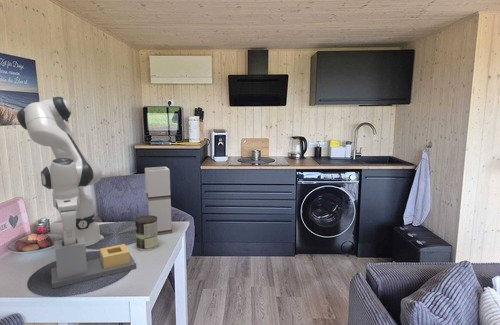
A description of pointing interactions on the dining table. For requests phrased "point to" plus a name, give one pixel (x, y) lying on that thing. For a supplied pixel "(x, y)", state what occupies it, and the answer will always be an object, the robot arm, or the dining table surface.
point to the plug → (69, 240)
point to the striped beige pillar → (159, 197)
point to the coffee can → (146, 232)
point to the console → (87, 262)
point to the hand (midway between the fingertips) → (69, 235)
